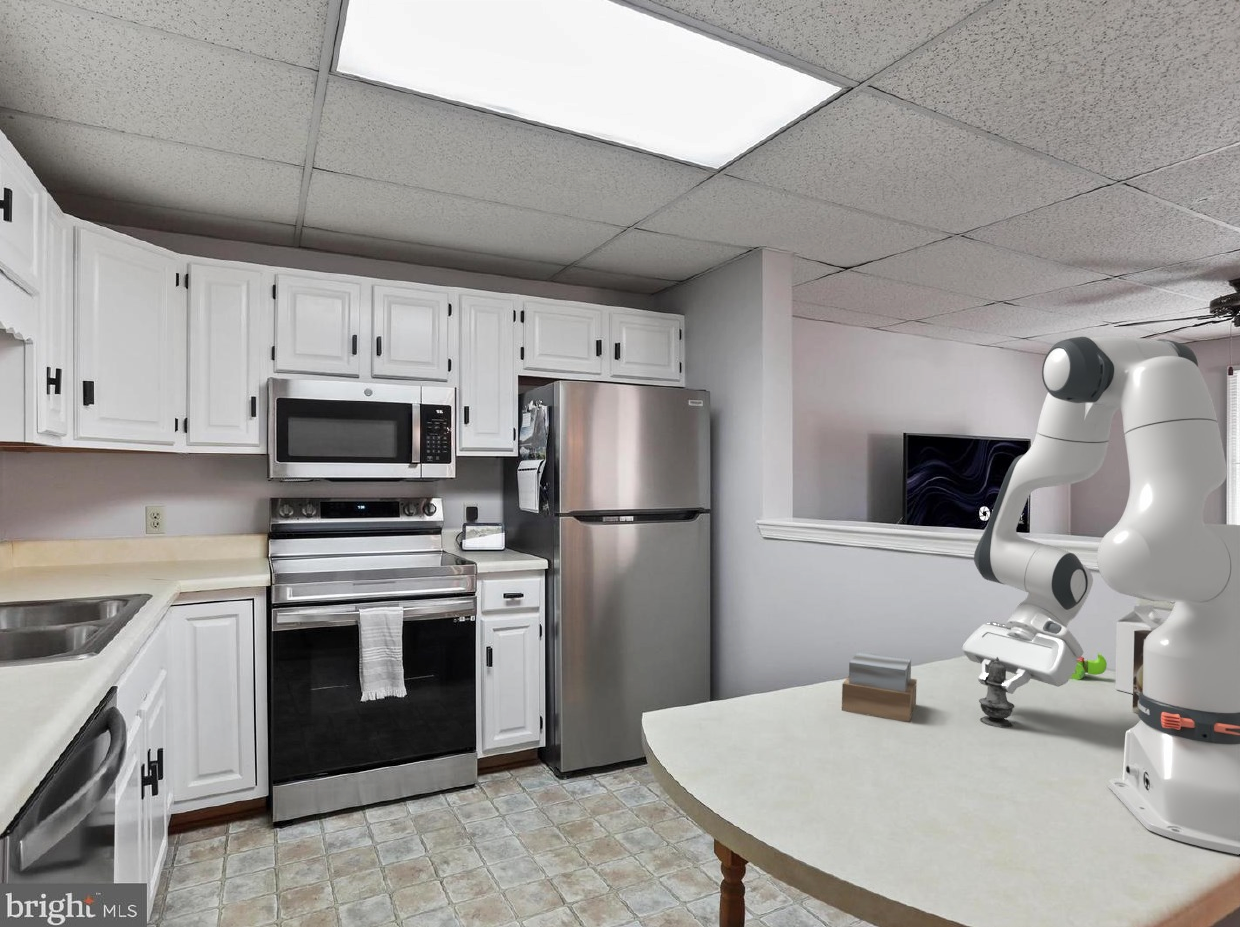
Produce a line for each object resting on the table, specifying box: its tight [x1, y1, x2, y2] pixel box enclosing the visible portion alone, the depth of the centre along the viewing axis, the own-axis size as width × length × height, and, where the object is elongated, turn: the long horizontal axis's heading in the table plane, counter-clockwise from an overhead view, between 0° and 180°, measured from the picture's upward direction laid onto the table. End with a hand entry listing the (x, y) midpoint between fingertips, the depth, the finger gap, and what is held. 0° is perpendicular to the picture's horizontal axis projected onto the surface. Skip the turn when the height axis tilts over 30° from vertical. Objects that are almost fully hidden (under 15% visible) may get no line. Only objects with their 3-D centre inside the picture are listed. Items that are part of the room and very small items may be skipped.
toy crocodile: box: [1070, 652, 1107, 681], centre depth 171 cm, size 20×7×6 cm, turn 50°
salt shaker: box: [978, 657, 1015, 728], centre depth 133 cm, size 6×6×12 cm
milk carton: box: [1114, 604, 1166, 695], centre depth 156 cm, size 7×7×19 cm
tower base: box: [841, 651, 918, 723], centre depth 139 cm, size 12×12×9 cm
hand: (994, 686), depth 132 cm, fingers closed on salt shaker, 4 cm apart
